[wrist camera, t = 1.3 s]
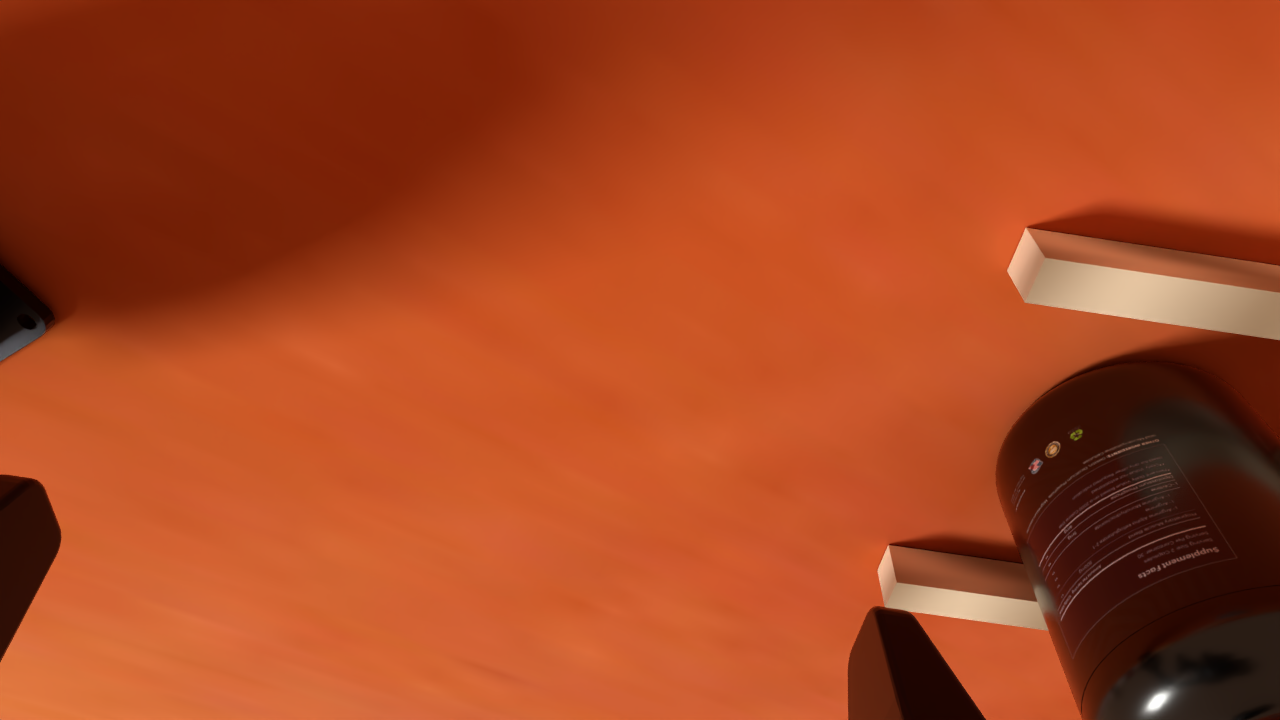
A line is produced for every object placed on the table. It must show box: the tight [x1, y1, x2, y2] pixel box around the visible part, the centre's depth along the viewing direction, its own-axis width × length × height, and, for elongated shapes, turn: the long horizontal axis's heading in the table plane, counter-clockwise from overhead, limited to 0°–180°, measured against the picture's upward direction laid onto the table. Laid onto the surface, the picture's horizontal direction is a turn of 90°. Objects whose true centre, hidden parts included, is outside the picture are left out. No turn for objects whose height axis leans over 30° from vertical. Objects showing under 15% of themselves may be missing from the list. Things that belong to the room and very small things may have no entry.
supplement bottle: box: [996, 361, 1280, 720], centre depth 20 cm, size 7×7×12 cm
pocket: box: [878, 228, 1280, 631], centre depth 24 cm, size 11×12×2 cm
